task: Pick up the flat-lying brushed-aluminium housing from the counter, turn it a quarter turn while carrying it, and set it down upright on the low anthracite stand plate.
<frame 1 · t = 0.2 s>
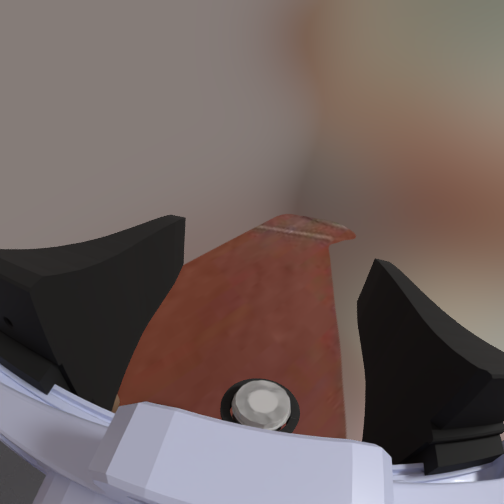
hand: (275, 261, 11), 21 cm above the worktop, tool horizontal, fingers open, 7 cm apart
stand: (7, 475, 13), on the worktop
push button: (238, 452, 23), on the worktop
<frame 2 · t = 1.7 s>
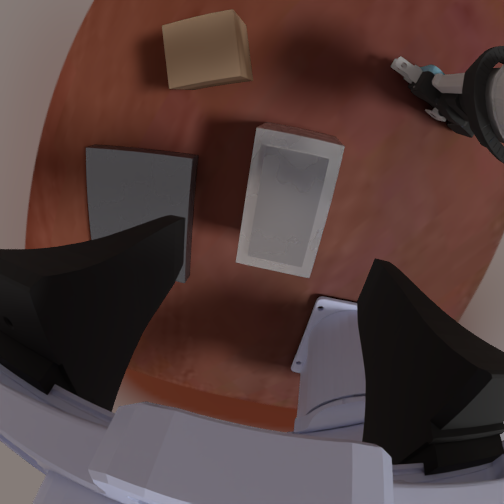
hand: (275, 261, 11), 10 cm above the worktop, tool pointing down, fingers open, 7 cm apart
stand: (140, 210, 22), on the worktop
push button: (430, 92, 15), on the worktop
tan cube: (219, 57, 16), on the worktop
housing: (289, 185, 20), on the worktop
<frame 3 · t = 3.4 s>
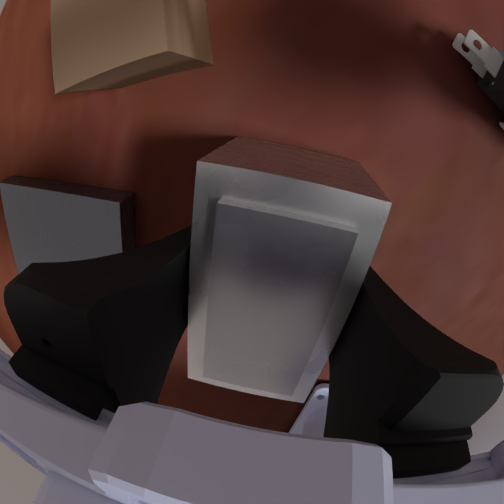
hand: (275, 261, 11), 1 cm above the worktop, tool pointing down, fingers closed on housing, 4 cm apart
stand: (72, 265, 15), on the worktop
push button: (503, 94, 7), on the worktop
tan cube: (159, 31, 9), on the worktop
housing: (278, 244, 12), on the worktop, touching gripper
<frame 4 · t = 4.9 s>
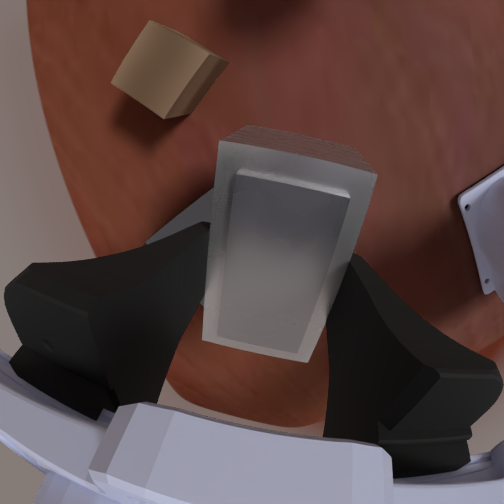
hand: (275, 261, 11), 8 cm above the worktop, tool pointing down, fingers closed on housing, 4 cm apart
stand: (239, 256, 21), on the worktop
tan cube: (185, 71, 15), on the worktop
housing: (283, 219, 14), point 5 cm above the worktop, touching gripper
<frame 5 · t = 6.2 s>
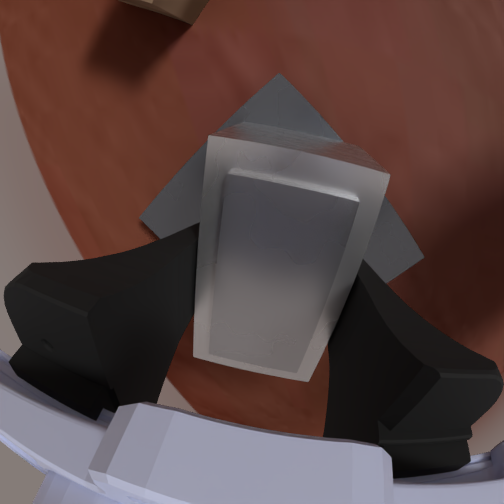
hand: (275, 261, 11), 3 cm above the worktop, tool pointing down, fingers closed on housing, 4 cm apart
stand: (283, 224, 14), on the worktop
housing: (282, 225, 13), point 1 cm above the worktop, touching gripper, stand
when the fingers open (3 cm above the worktop, at t = 7.1 s): housing stays where it is, resting on stand.
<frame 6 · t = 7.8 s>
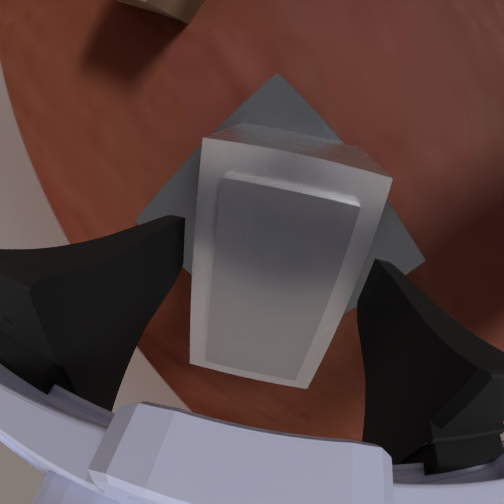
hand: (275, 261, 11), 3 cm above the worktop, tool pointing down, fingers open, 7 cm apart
stand: (282, 227, 14), on the worktop
housing: (281, 229, 12), point 1 cm above the worktop, touching stand
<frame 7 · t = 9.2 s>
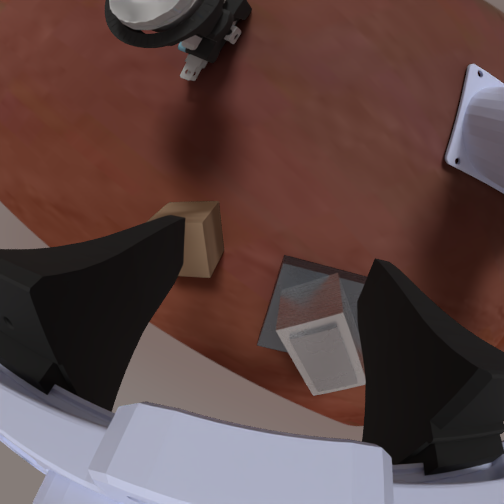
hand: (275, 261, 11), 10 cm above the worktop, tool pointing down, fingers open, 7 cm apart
stand: (326, 313, 25), on the worktop
push button: (215, 38, 16), on the worktop
tan cube: (196, 225, 23), on the worktop
housing: (325, 319, 23), point 1 cm above the worktop, touching stand
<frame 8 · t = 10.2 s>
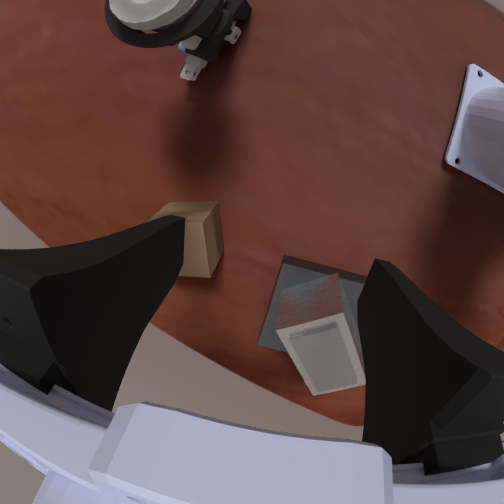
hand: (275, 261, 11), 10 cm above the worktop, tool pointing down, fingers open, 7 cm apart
stand: (326, 313, 25), on the worktop
push button: (215, 38, 16), on the worktop
tan cube: (196, 225, 23), on the worktop
housing: (325, 319, 23), point 1 cm above the worktop, touching stand
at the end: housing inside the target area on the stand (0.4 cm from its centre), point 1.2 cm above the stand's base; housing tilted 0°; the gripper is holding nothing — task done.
